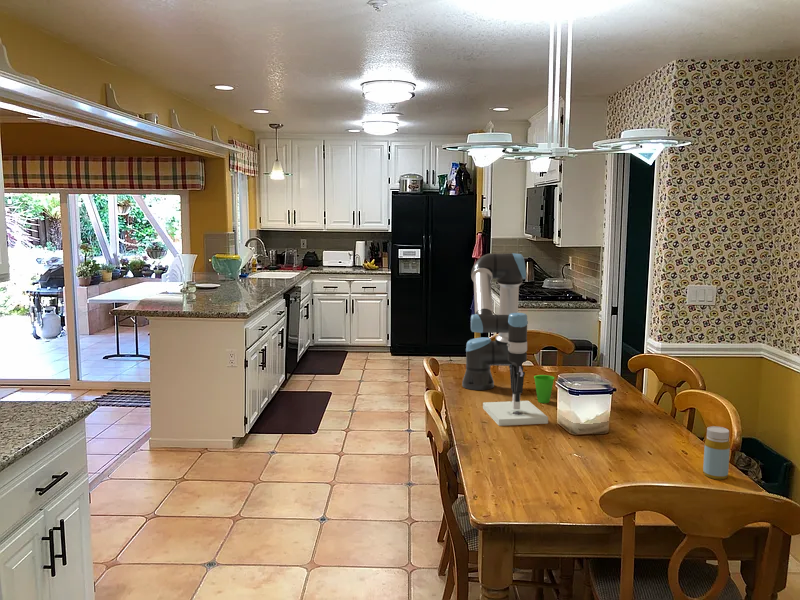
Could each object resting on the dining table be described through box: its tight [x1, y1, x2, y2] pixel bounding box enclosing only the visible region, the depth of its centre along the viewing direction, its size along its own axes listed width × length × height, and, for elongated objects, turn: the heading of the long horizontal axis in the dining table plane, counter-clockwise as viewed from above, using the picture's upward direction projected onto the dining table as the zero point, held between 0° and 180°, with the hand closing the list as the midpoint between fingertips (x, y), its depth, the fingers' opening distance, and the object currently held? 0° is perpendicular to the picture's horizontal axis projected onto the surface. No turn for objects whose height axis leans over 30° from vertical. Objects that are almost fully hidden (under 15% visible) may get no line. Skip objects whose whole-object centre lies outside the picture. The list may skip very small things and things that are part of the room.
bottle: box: [702, 425, 731, 481], centre depth 202 cm, size 7×7×15 cm
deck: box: [482, 400, 549, 427], centre depth 266 cm, size 24×20×2 cm
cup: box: [533, 374, 556, 404], centre depth 286 cm, size 9×9×11 cm
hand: (516, 408), depth 264 cm, fingers closed
